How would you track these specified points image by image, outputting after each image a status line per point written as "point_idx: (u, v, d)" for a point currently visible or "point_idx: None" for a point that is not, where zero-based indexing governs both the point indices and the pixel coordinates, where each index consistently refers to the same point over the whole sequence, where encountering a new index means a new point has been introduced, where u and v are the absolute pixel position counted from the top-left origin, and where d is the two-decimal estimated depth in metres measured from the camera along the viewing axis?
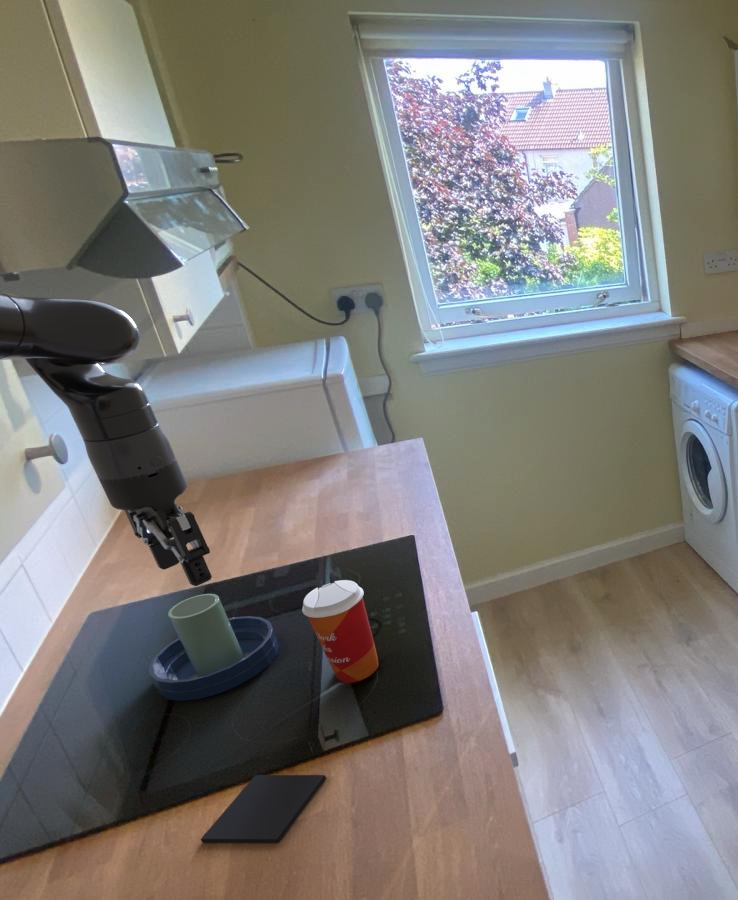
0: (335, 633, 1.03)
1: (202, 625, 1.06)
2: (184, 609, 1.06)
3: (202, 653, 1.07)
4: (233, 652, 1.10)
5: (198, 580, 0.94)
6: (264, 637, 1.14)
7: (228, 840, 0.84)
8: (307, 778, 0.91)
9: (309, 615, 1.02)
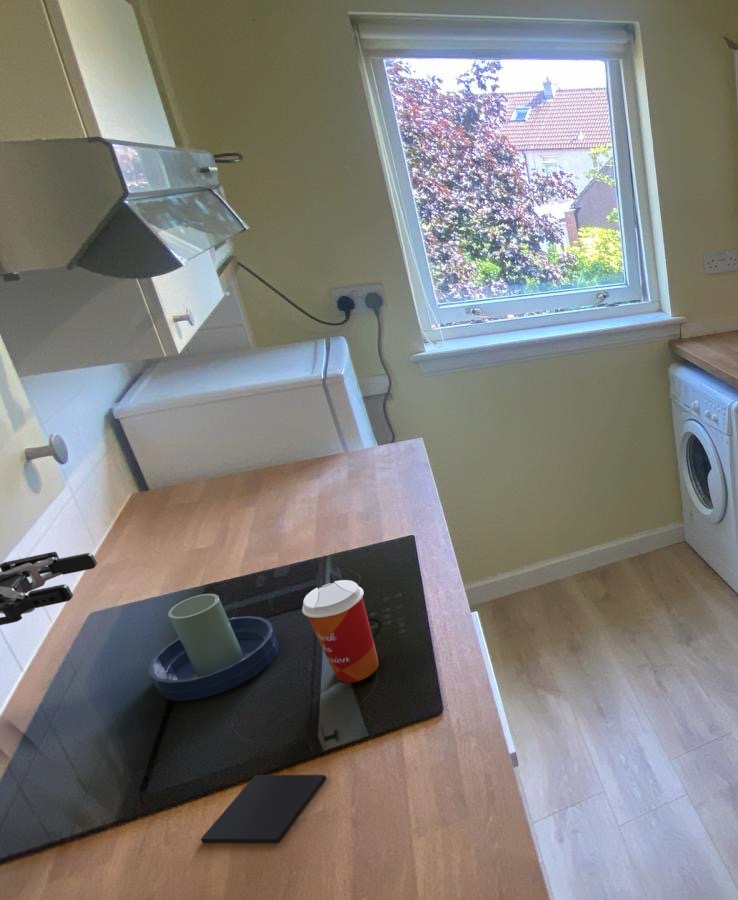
0: (335, 632, 1.03)
1: (202, 625, 1.06)
2: (184, 609, 1.06)
3: (202, 653, 1.07)
4: (233, 652, 1.10)
5: None
6: (264, 637, 1.14)
7: (228, 840, 0.84)
8: (307, 778, 0.91)
9: (309, 615, 1.02)
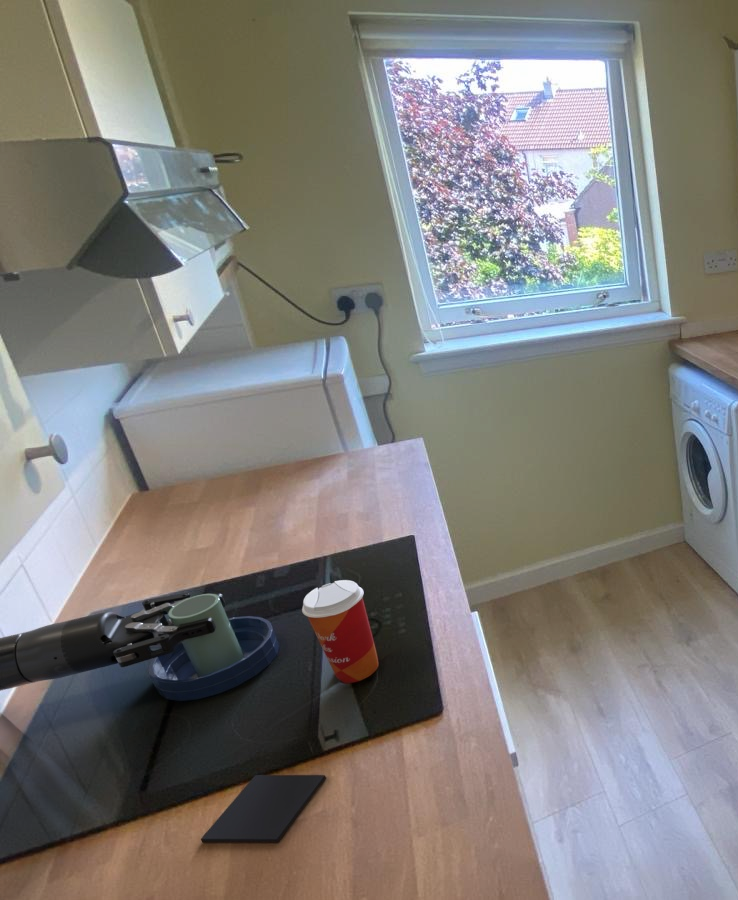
0: (335, 632, 1.03)
1: None
2: (184, 609, 1.06)
3: (202, 653, 1.07)
4: (233, 652, 1.10)
5: None
6: (264, 637, 1.14)
7: (228, 840, 0.84)
8: (307, 778, 0.91)
9: (309, 615, 1.02)
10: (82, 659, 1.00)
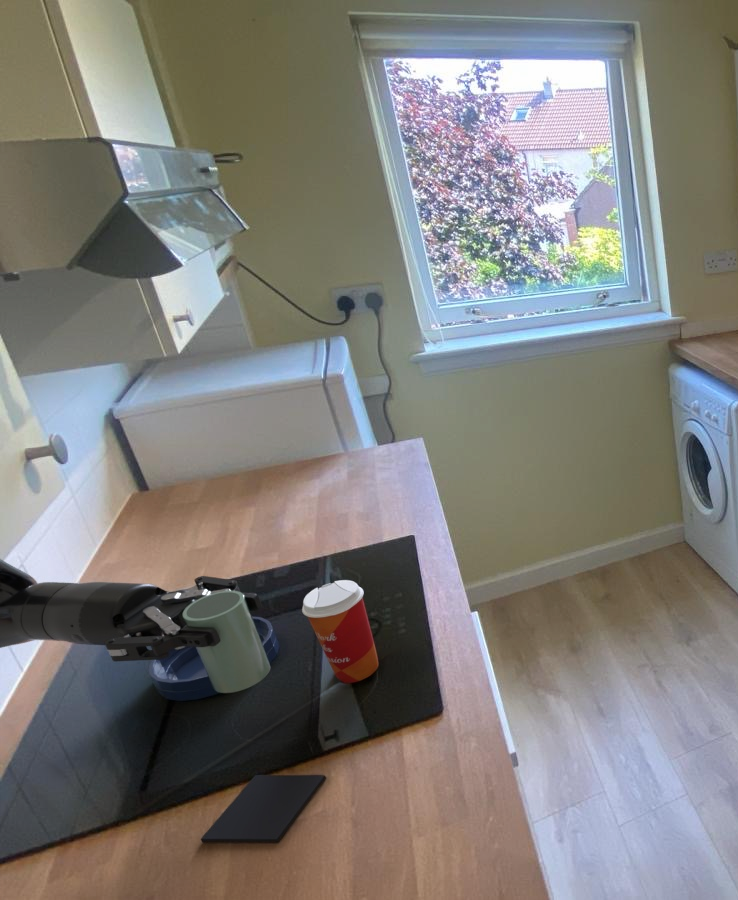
0: (335, 632, 1.03)
1: None
2: (202, 607, 0.88)
3: (209, 663, 0.88)
4: (246, 670, 0.90)
5: None
6: (264, 637, 1.14)
7: (228, 840, 0.84)
8: (307, 778, 0.91)
9: (309, 615, 1.02)
10: (94, 635, 0.86)
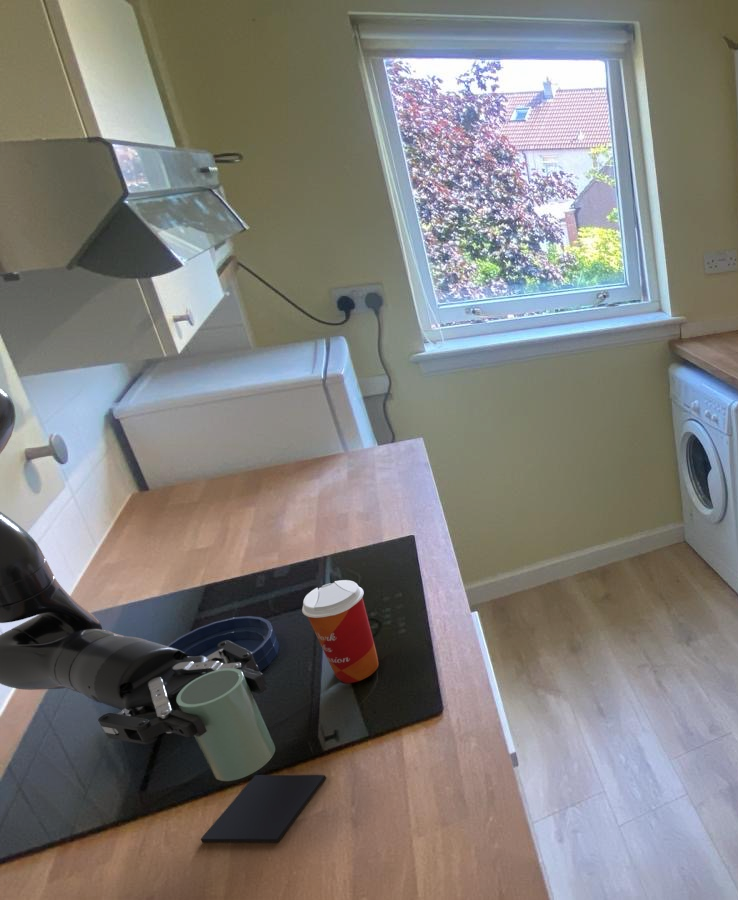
0: (335, 632, 1.03)
1: None
2: (199, 687, 0.80)
3: (202, 749, 0.80)
4: (240, 759, 0.82)
5: (262, 674, 0.84)
6: (264, 637, 1.14)
7: (228, 840, 0.84)
8: (307, 778, 0.91)
9: (309, 615, 1.02)
10: (106, 700, 0.82)
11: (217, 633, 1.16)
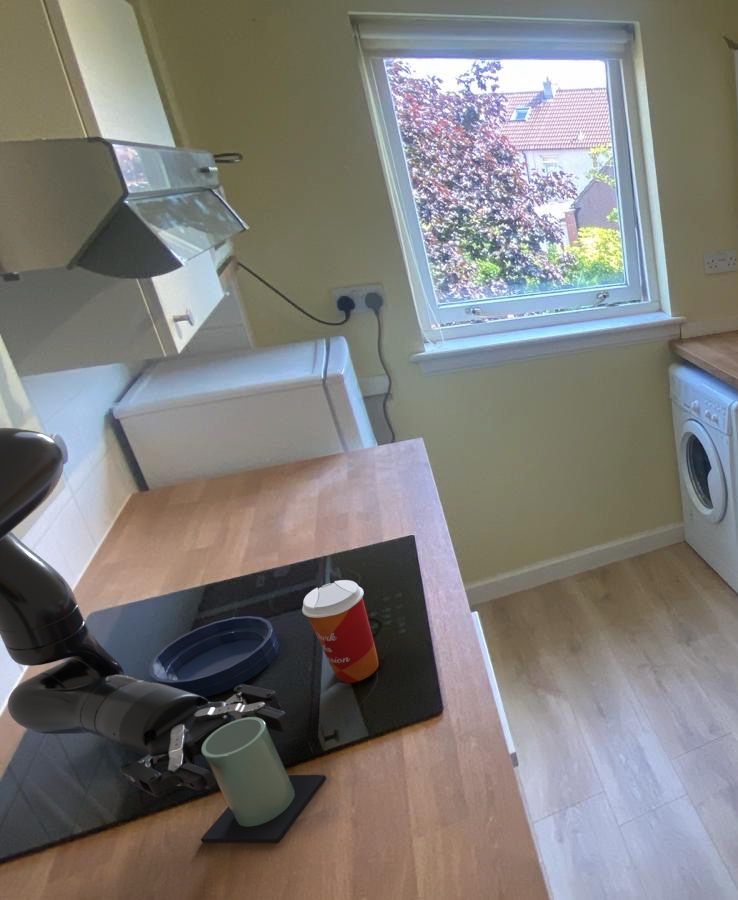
0: (335, 632, 1.03)
1: (220, 770, 0.81)
2: (223, 737, 0.83)
3: (225, 797, 0.83)
4: (262, 806, 0.85)
5: (284, 713, 0.88)
6: (264, 637, 1.14)
7: (228, 840, 0.84)
8: (307, 778, 0.91)
9: (309, 615, 1.02)
10: (131, 747, 0.84)
11: (217, 633, 1.16)
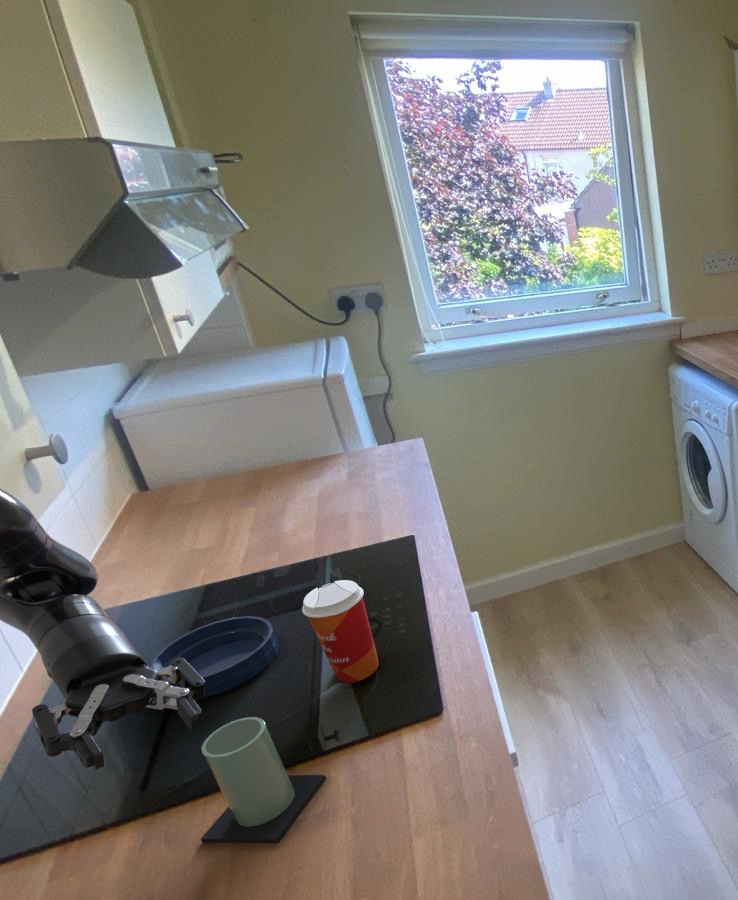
0: (335, 632, 1.03)
1: (220, 770, 0.81)
2: (223, 737, 0.83)
3: (225, 797, 0.83)
4: (262, 806, 0.85)
5: None
6: (264, 637, 1.14)
7: (228, 840, 0.84)
8: (307, 778, 0.91)
9: (309, 615, 1.02)
10: (56, 684, 0.85)
11: (217, 633, 1.16)
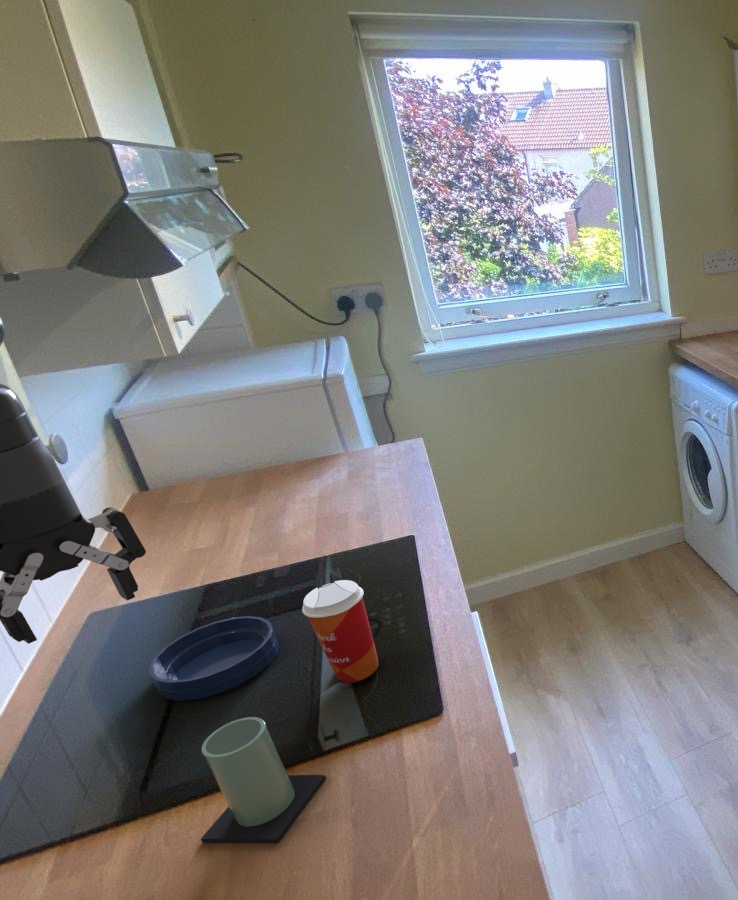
0: (335, 632, 1.03)
1: (220, 770, 0.81)
2: (223, 737, 0.83)
3: (225, 797, 0.83)
4: (262, 806, 0.85)
5: (137, 587, 0.84)
6: (264, 637, 1.14)
7: (228, 840, 0.84)
8: (307, 778, 0.91)
9: (309, 615, 1.02)
10: None
11: (217, 633, 1.16)
